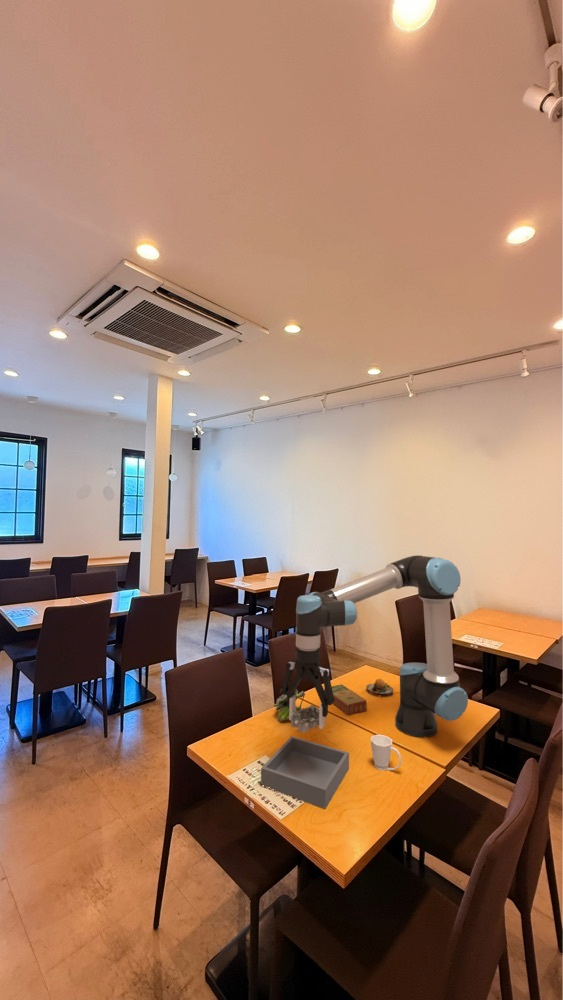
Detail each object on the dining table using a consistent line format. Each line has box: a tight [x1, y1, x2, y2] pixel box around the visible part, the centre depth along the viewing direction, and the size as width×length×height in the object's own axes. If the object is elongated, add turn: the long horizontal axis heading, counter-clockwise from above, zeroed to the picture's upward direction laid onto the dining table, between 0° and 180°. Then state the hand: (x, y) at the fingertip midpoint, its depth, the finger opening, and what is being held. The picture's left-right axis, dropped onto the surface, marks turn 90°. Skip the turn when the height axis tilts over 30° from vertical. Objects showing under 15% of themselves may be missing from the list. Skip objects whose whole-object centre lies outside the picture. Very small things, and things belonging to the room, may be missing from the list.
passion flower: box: [273, 688, 306, 722], centre depth 161 cm, size 13×12×14 cm
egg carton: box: [289, 704, 327, 733], centre depth 124 cm, size 10×7×4 cm
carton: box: [323, 683, 368, 717], centre depth 172 cm, size 10×18×5 cm, turn 25°
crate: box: [260, 735, 350, 810], centre depth 123 cm, size 20×20×5 cm
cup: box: [370, 734, 402, 772], centre depth 128 cm, size 7×10×8 cm
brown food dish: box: [365, 678, 394, 698], centre depth 185 cm, size 12×12×8 cm
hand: (306, 722), depth 124 cm, fingers closed on egg carton, 9 cm apart
